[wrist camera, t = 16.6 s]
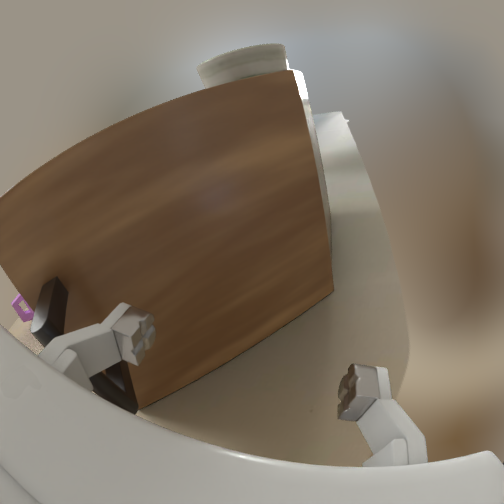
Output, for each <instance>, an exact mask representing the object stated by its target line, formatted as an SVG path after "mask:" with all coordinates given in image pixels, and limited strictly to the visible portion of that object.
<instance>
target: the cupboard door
mask: <svg viewBox="0 0 504 504" xmlns="http://www.w3.org/2000/svg"><path fill="white" fill-rule="evenodd" d="M0 265H1V267H2V268H3V270H4V271H5V273H6V274H7V275H8V277H9V279H10V280H11V282H12V283H13V284H14V286H15V287H16V289H17V290H18V292H19V293H20V294H21V296H22V297H23V298H24V300H25V301H26V302H27V304H28V305H29V306H30V308H31V309H32V310H33V311H34V316H33V320H32V324H31V328H30V331H31V333H32V334H33V335H34V336H35V338H36V339H37V340H38V341H39V342H40V343H41V344H42V345H43V346H44V347H46V346H47V345H48V344H49V343H50V342H51V341H52V340H53V339H54V338H55V337H58V336H61V335H64V334H67V333H70V332H73V331H76V330H79V329H82V328H85V327H88V326H91V325H94V324H97V323H99V324H101V323H102V322H103V321H104V320H105V319H106V318H107V317H108V316H109V314H110V313H111V312H112V311H113V310H114V309H115V308H116V307H117V306H118V305H119V304H120V303H123V302H124V303H126V304H129V305H131V306H134V307H136V308H139V309H142V310H144V311H147V312H149V313H152V314H153V315H154V319H155V321H154V322H153V325H154V327H155V328H156V338H155V341H154V343H153V345H152V347H151V348H150V349H148V350H145V355H146V356H145V357H144V359H143V360H142V361H141V363H140V364H139V366H136V365H134V364H132V363H129V362H127V361H124V360H122V359H121V361H119V362H118V363H116V364H114V365H112V366H110V367H108V368H106V369H104V370H102V371H101V372H99V373H97V374H95V375H93V376H91V377H89V380H90V381H91V383H92V385H93V390H92V391H93V392H94V393H95V394H97V395H98V396H99V397H101V398H103V399H105V400H107V401H109V402H110V403H112V404H114V405H116V406H118V407H120V408H122V409H124V410H126V411H128V412H130V413H132V414H134V415H135V414H136V413H137V411H138V410H139V409H141V408H143V407H145V406H147V405H149V404H151V403H153V402H155V401H157V400H159V399H161V398H163V397H165V396H167V395H169V394H171V393H173V392H175V391H177V390H178V389H180V388H182V387H184V386H186V385H188V384H190V383H191V382H193V381H195V380H197V379H199V378H200V377H202V376H204V375H206V374H207V373H209V372H211V371H213V370H214V369H216V368H218V367H219V366H221V365H223V364H225V363H226V362H228V361H230V360H231V359H233V358H234V357H236V356H238V355H239V354H241V353H243V352H244V351H246V350H247V349H249V348H251V347H252V346H254V345H255V344H257V343H259V342H260V341H262V340H263V339H265V338H266V337H268V336H269V335H271V334H272V333H274V332H275V331H277V330H278V329H280V328H281V327H283V326H284V325H286V324H287V323H289V322H290V321H292V320H293V319H295V318H296V317H298V316H299V315H300V314H302V313H303V312H305V311H306V310H308V309H309V308H310V307H312V306H313V305H315V304H316V303H317V302H319V301H320V300H322V299H323V298H324V297H326V296H327V295H328V294H330V293H331V292H332V291H334V285H333V275H332V266H331V257H330V249H329V241H328V234H327V227H326V220H325V213H324V207H323V201H322V195H321V189H320V183H319V178H318V172H317V167H316V162H315V157H314V152H313V147H312V142H311V138H310V133H309V129H308V124H307V120H306V116H305V111H304V107H303V103H302V99H301V95H300V91H299V88H298V84H297V80H296V77H295V73H294V70H293V69H292V70H285V71H279V72H274V73H268V74H263V75H258V76H253V77H249V78H244V79H240V80H236V81H232V82H228V83H224V84H221V85H217V86H213V87H210V88H207V89H203V90H200V91H197V92H194V93H191V94H188V95H185V96H182V97H179V98H176V99H173V100H170V101H168V102H165V103H162V104H160V105H157V106H155V107H152V108H150V109H147V110H145V111H142V112H140V113H138V114H135V115H133V116H131V117H128V118H126V119H124V120H122V121H120V122H118V123H116V124H113V125H111V126H109V127H108V128H106V129H103V130H101V131H100V132H98V133H96V134H94V135H92V136H90V137H88V138H86V139H85V140H83V141H81V142H80V143H77V144H76V145H74V146H72V147H71V148H69V149H67V150H66V151H64V152H62V153H61V154H59V155H57V156H56V157H54V158H53V159H52V160H50V161H48V162H47V163H45V164H44V165H42V166H41V167H39V168H38V169H36V170H35V171H33V172H32V173H31V174H29V175H28V176H26V177H25V178H24V179H23V180H21V181H20V182H18V183H17V184H16V185H14V186H13V187H12V188H11V189H9V190H8V191H7V192H6V193H4V194H3V195H2V196H1V197H0Z"/></svg>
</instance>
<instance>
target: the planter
mask: <svg viewBox="0 0 504 504" xmlns="http://www.w3.org/2000/svg"><path fill="white" fill-rule="evenodd" d="M286 69H289V68H288V62H287V56H286V51H285V47H284V45H282V44H262V45H256V46H250V47H245V48H241V49H237V50H233V51H230V52H227V53H224V54H221V55H218V56H216V57H213V58H211V59H209V60H206V61H205V62H203V63H201V64H200V65H198V66H197V71H198V73H199V75H200V77H201V80H202V82H203V84H204V86H205V88H206V89H207V88H210V87H213V86H217V85H221V84H224V83H228V82H232V81H236V80H240V79H244V78H249V77H253V76H258V75H263V74H268V73H272V72H277V71H281V70H286Z"/></svg>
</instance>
